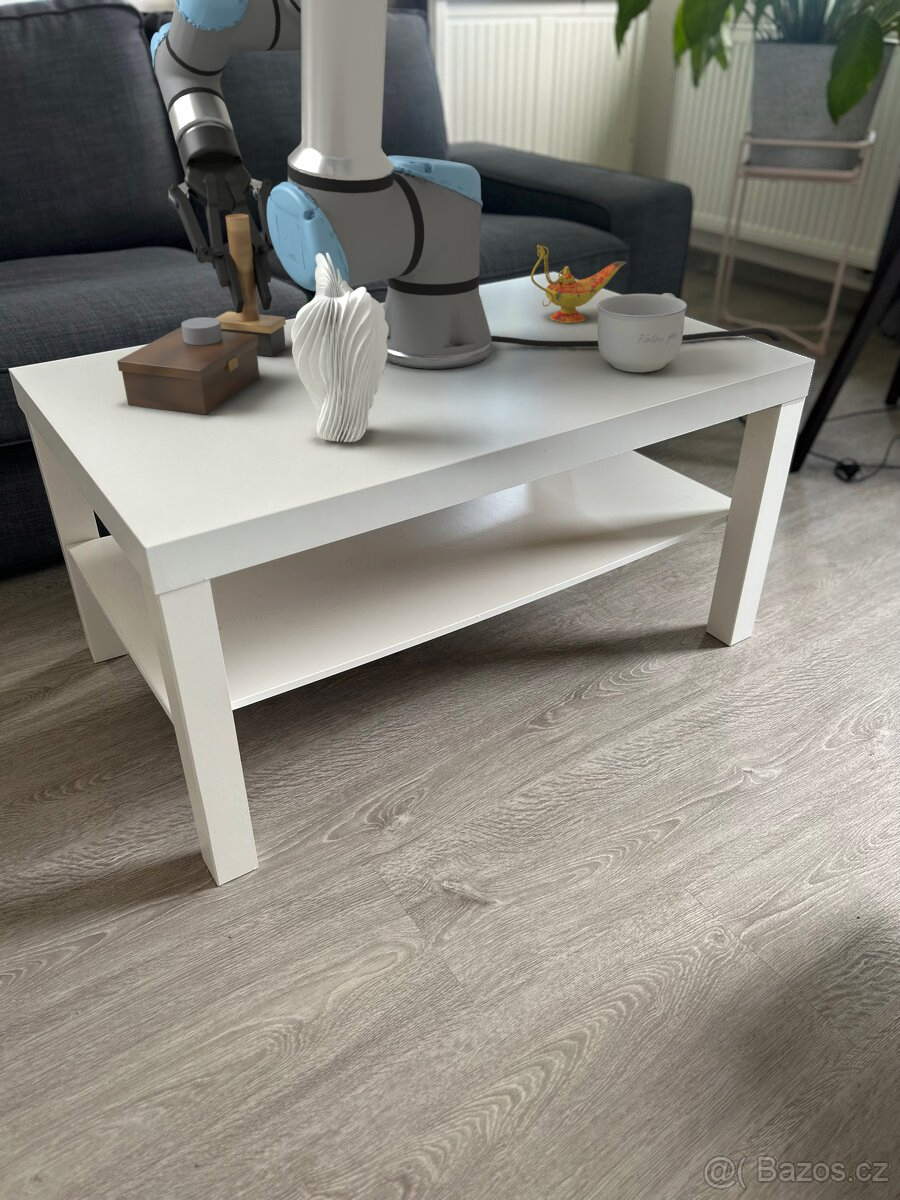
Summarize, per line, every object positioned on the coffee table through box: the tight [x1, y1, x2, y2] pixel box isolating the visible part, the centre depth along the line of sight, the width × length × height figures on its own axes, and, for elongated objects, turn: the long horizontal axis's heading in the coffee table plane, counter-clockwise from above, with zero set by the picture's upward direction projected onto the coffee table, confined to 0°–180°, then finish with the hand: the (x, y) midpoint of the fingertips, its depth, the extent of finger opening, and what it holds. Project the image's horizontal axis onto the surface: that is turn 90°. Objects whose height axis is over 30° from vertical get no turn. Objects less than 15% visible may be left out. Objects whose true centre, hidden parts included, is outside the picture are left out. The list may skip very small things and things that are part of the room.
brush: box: [214, 213, 287, 357], centre depth 118 cm, size 8×4×16 cm, turn 73°
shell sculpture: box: [290, 253, 389, 443], centre depth 93 cm, size 8×8×18 cm
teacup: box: [597, 292, 688, 373], centre depth 117 cm, size 14×11×8 cm
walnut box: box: [116, 326, 260, 416], centre depth 108 cm, size 11×13×5 cm
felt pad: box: [180, 316, 222, 345], centre depth 108 cm, size 4×4×2 cm
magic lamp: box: [530, 244, 627, 324], centre depth 134 cm, size 7×18×11 cm, turn 125°
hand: (254, 305), depth 116 cm, fingers closed on brush, 3 cm apart
